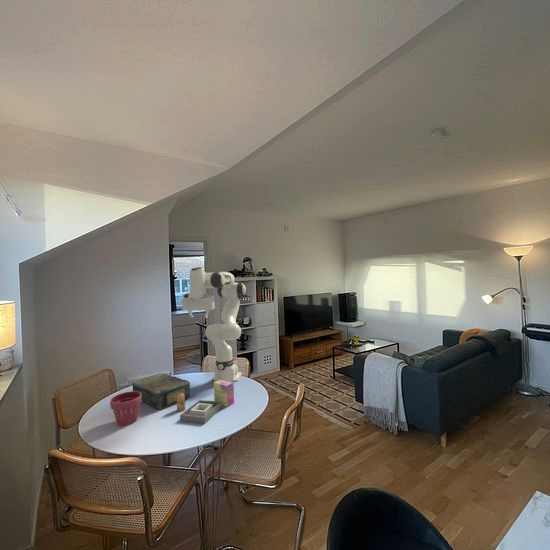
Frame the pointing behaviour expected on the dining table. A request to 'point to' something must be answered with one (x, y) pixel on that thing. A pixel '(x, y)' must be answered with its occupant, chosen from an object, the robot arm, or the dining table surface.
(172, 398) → the metal box
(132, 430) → the dining table surface
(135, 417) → the plant pot
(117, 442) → the dining table surface
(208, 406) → the housing
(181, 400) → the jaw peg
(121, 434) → the dining table surface
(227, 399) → the box
